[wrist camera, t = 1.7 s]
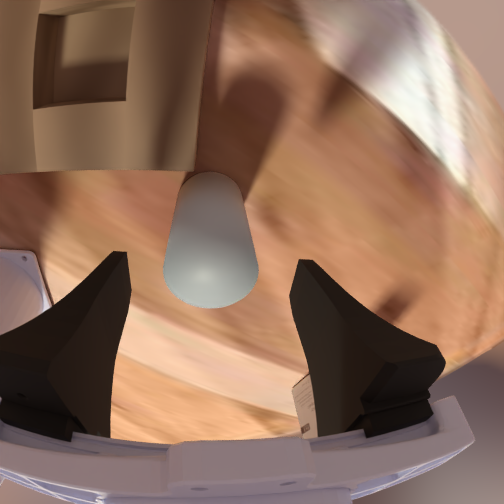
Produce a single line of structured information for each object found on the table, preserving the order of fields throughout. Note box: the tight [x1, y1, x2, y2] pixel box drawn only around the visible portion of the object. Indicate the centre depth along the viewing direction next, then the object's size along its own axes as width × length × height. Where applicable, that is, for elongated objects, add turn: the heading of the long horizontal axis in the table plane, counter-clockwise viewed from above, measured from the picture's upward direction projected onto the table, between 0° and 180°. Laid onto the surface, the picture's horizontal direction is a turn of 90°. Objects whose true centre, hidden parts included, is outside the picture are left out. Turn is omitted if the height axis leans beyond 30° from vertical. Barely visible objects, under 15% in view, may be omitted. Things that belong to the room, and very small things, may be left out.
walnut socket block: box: [0, 0, 214, 175], centre depth 11 cm, size 12×12×3 cm
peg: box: [163, 172, 259, 308], centre depth 16 cm, size 4×4×7 cm
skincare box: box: [292, 374, 318, 439], centre depth 27 cm, size 6×4×12 cm
